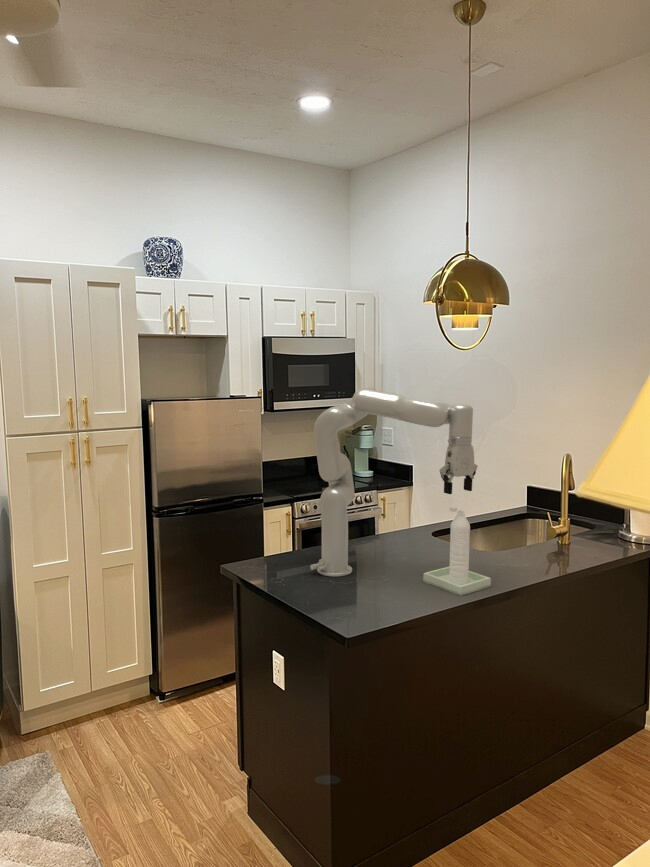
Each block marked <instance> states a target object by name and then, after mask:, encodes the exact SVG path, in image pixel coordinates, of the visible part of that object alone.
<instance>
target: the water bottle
mask: <svg viewBox="0 0 650 867" xmlns="http://www.w3.org/2000/svg"><path fill="white" fill-rule="evenodd" d="M449 512H452V513H453V512H456V516H455V517H454V518H453V520H452V521H451V523H450V534H449V535H450V538H449V541H450V543H449V566H448V567H449V568H450V569H449V574H450V575H449V582H452V583H455V584H457V585H464V584H468V575H469V571H470V570H469V569H470V565H469V564H470V540H471V538H470V536H471V535H470V534H471V525H470V522H469V520H468V519H467V518H466V516H465V511H464V510H458V508H457V507H454V506H453V507H449ZM468 570H469V571H468Z"/></svg>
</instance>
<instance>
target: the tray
mask: <svg viewBox="0 0 650 867" xmlns="http://www.w3.org/2000/svg"><path fill="white" fill-rule="evenodd" d="M449 569H450V568H449V566H446V567H442V568H438V569H435V570H429V571H427V572H424V573H423V574H422V575H423V577H422V581H423V583H425V584H429V585H430V586H431V585H432V586H434V587H436V588H438V589H441V590H444V591H445V592H446V591H447V592H450V593H452V594H454V595H456V594H457V595H456V596H459V597H462V596H465V595H469V594H472V593H474V592H478V591H481V590H484V589H487V588H491V586H492V578H491V577H489V576H486V575H483V574H481V573H478V572H474V571H471V570H468V571H469V575H468V584H464V585H457V584H455V583H452V582H449V575H450V574H449Z"/></svg>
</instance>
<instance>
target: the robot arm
mask: <svg viewBox="0 0 650 867" xmlns="http://www.w3.org/2000/svg"><path fill="white" fill-rule="evenodd" d="M368 415H372V416H377V417H378V416H379V417H383V418H388V419H393V420H397V421H402V422H405V423H410V424H414V425H419V426H424V427H430V428H439V427H442V426H444V425H449V426H448V440H447V442H448V445H447V447H446V453H445V460H444V465H443V466H442V467H441V468H440V469H439V474H440V478H441V479H442V482H443V493H444V494H447V495H452V494H453V479H454V477H456V478H457V477H458V478H459V477H460V478H461V477H465V478H463V490H464V491H468V492H472V491H473V480H474V479H475V475H476V473H477V469H478V465H477V464H475V452H474V446H473V445H472V441H473V440H472V438H473V418H474V417H473V416H474V409H473V407H472V406H471V405H468V404H449V403H443V402H436V403H428V402H422V401H418V400H414V399H410V398H407V397H405V396H404V395H402V394H398V393H393V392H387V391H381V390H376V389H375V388H373V387H364V388H360V389H358V390H356V391H355V392H354V394H353V396H352V397H351V398H350V399H348V400H346V401H345V402H343V403H341V404H340V405H335V406H332V407H329V408H327V409H325V410H324V411H323V412H322V413H320V414H319V416H317V419H316V420H315V423H314V426H313V436H314V443H315V452H316V459H317V466H318V472H319V473H318V474H319V476H320V478H321V479H322V480H323V481H324V482H328V486H327V487H326V488H325V489H324V490H323V491H322V493H321V495H320V499H319V507H320V516H321V517H320V518H321V559H318V562H317V563H313V564H310V570H311V571H314V570H317V572H318V574H320V575H321V576H327V577H335V578H336V577H345V576H348V575H350V574H351V573H352V572H353V568H352V566H351V565H349V517H348V511H347V510H348V506H349V505H350V504H351V503H352V502H353V500H354V498H355V485H354V478H353V470H352V464H351V462H350V460H349V458H348V456H346V454H344V453H342V452H341V446H340V441H339V437H338V432H339V431H342V430H344V429H347V428H349V427H352V426H353V425H355V424H356V423H358V422H359V421H360V420H362V419H364V418H365V417H367V416H368Z"/></svg>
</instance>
